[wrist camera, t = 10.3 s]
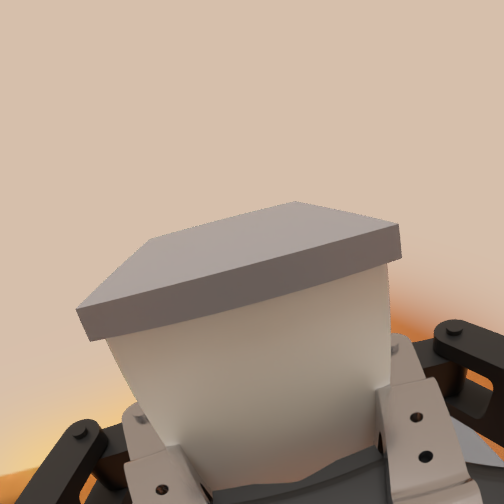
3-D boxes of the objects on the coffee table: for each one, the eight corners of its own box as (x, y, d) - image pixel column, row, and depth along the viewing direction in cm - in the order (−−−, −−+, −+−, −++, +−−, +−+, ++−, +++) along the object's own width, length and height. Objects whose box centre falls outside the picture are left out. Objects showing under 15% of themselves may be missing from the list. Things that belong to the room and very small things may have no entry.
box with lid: (242, 547, 7) (75, 308, 4) (228, 442, 13) (149, 239, 10) (381, 507, 7) (398, 223, 4) (330, 413, 13) (295, 201, 11)
